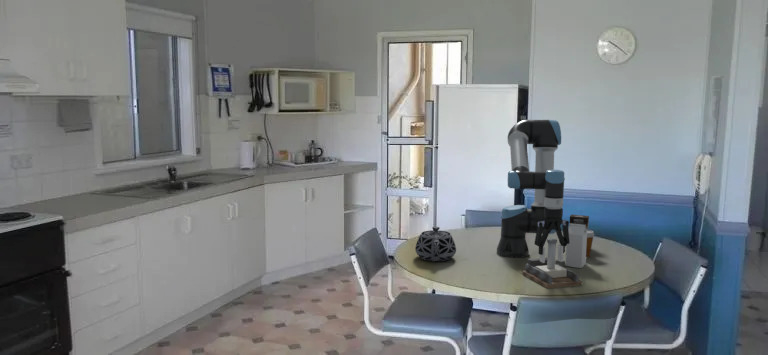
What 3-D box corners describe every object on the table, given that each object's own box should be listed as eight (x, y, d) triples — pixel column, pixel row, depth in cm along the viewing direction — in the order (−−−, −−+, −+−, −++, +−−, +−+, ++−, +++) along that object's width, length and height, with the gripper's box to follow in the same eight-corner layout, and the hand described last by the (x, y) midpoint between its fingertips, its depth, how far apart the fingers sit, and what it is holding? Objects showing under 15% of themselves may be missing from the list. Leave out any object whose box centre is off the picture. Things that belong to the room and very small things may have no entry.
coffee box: (567, 247, 315) (569, 216, 313) (569, 244, 321) (570, 213, 319) (586, 249, 312) (588, 217, 309) (587, 246, 317) (589, 215, 315)
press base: (522, 274, 269) (522, 259, 268) (555, 271, 274) (555, 256, 273) (546, 288, 250) (547, 272, 249) (581, 285, 255) (582, 269, 254)
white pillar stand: (535, 273, 264) (536, 238, 262) (556, 271, 267) (557, 237, 265) (545, 278, 257) (546, 242, 255) (566, 276, 260) (568, 241, 258)
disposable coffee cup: (594, 258, 294) (595, 233, 293) (573, 257, 296) (574, 232, 295) (592, 253, 304) (593, 229, 302) (571, 252, 306) (572, 228, 304)
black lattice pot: (453, 249, 310) (454, 220, 308) (457, 267, 279) (458, 234, 277) (415, 249, 311) (415, 219, 309) (415, 266, 280) (415, 233, 278)
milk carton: (581, 268, 278) (583, 226, 276) (565, 266, 282) (567, 224, 279) (585, 264, 284) (587, 223, 282) (569, 262, 288) (571, 221, 285)
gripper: (535, 210, 252) (533, 265, 255) (580, 207, 257) (577, 261, 261) (526, 207, 259) (524, 260, 262) (570, 204, 264) (567, 257, 268)
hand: (551, 261), depth 261 cm, fingers open, 8 cm apart
